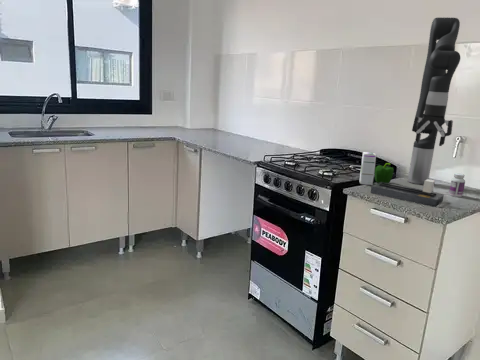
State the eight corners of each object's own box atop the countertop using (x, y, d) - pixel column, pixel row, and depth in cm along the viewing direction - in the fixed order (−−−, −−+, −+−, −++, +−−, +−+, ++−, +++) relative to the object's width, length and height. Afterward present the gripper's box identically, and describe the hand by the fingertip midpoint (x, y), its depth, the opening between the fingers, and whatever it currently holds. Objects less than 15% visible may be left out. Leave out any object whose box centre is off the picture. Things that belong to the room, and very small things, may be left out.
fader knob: (424, 191, 162) (427, 179, 160) (432, 193, 160) (434, 180, 158) (422, 193, 159) (424, 180, 157) (430, 195, 157) (432, 182, 155)
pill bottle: (460, 194, 174) (465, 173, 171) (463, 197, 169) (467, 176, 166) (447, 193, 175) (451, 172, 173) (449, 196, 170) (453, 174, 168)
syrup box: (372, 185, 181) (377, 154, 177) (359, 184, 182) (363, 153, 178) (371, 182, 186) (375, 152, 183) (358, 181, 187) (362, 151, 184)
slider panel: (380, 187, 177) (381, 180, 176) (442, 201, 162) (444, 192, 161) (370, 192, 168) (371, 184, 167) (435, 207, 152) (437, 198, 152)
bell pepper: (369, 181, 189) (372, 160, 187) (382, 180, 193) (385, 160, 190) (381, 185, 182) (385, 164, 179) (395, 184, 185) (398, 163, 183)
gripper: (458, 105, 153) (450, 145, 158) (419, 101, 162) (413, 140, 166) (454, 105, 148) (446, 148, 152) (414, 102, 156) (408, 142, 160)
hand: (429, 144), depth 159 cm, fingers open, 8 cm apart
